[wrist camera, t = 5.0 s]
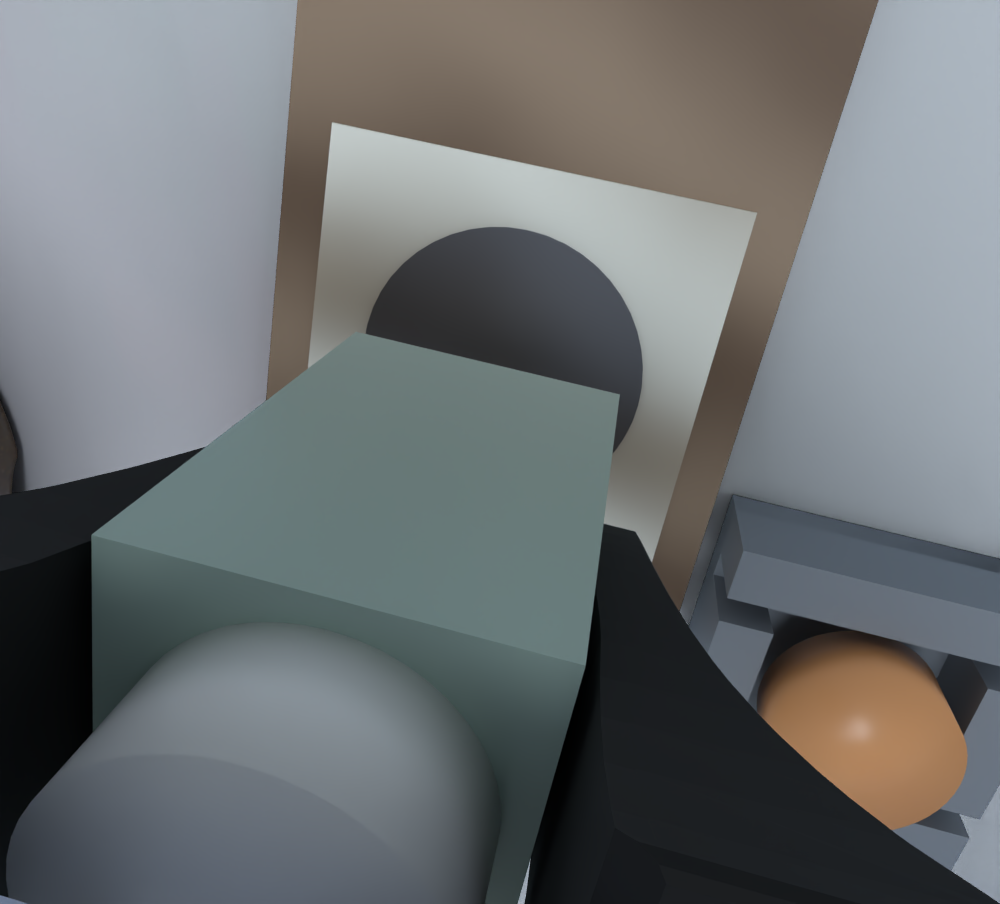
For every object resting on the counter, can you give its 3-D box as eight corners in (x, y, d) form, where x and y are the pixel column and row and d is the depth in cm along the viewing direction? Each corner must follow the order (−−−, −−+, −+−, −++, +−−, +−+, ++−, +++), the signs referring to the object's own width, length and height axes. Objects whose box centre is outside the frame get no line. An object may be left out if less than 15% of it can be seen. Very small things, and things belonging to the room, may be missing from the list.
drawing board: (673, 609, 22) (674, 631, 21) (269, 506, 23) (253, 523, 22) (886, -52, 16) (901, -62, 15) (326, -156, 17) (307, -171, 16)
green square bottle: (559, 620, 14) (455, 1188, 7) (327, 558, 14) (-17, 1038, 7) (619, 393, 12) (567, 818, 5) (355, 331, 13) (-52, 644, 5)
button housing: (916, 787, 23) (948, 874, 20) (657, 719, 23) (657, 795, 21) (1029, 566, 20) (1083, 634, 17) (732, 494, 21) (743, 550, 18)
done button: (901, 791, 20) (923, 852, 19) (734, 747, 21) (741, 803, 19) (970, 657, 19) (1000, 710, 17) (787, 611, 19) (800, 660, 17)
